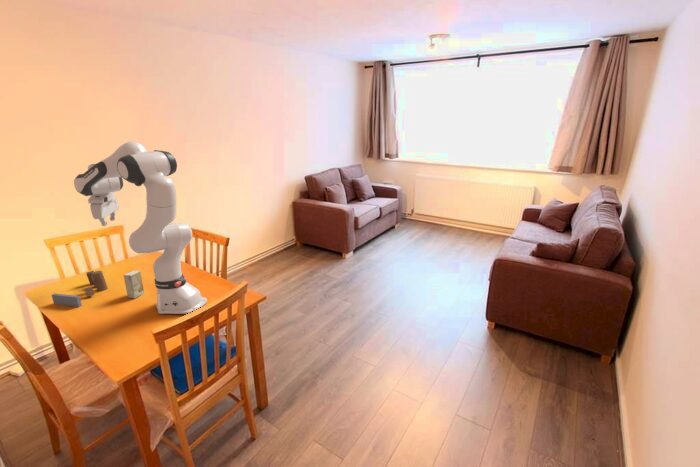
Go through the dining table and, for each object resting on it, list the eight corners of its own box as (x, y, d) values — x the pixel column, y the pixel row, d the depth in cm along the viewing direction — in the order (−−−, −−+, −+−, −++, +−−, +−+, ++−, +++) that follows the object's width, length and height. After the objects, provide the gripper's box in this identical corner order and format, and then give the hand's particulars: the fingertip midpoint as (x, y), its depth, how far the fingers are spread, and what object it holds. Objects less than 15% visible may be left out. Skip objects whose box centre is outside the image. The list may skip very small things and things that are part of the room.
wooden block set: (86, 286, 177) (80, 268, 173) (106, 280, 182) (100, 263, 178) (87, 299, 164) (80, 281, 160) (108, 293, 168) (102, 275, 165)
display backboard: (81, 305, 157) (79, 295, 156) (78, 307, 156) (76, 297, 154) (57, 302, 160) (54, 293, 158) (54, 304, 158) (51, 294, 157)
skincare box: (134, 298, 164) (130, 275, 160) (127, 297, 165) (122, 275, 161) (145, 292, 170) (140, 270, 166) (137, 292, 171) (133, 269, 167)
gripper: (105, 192, 176) (110, 217, 180) (85, 200, 157) (92, 228, 161) (119, 192, 177) (124, 217, 181) (101, 200, 158) (106, 228, 162)
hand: (108, 222), depth 171 cm, fingers open, 8 cm apart
